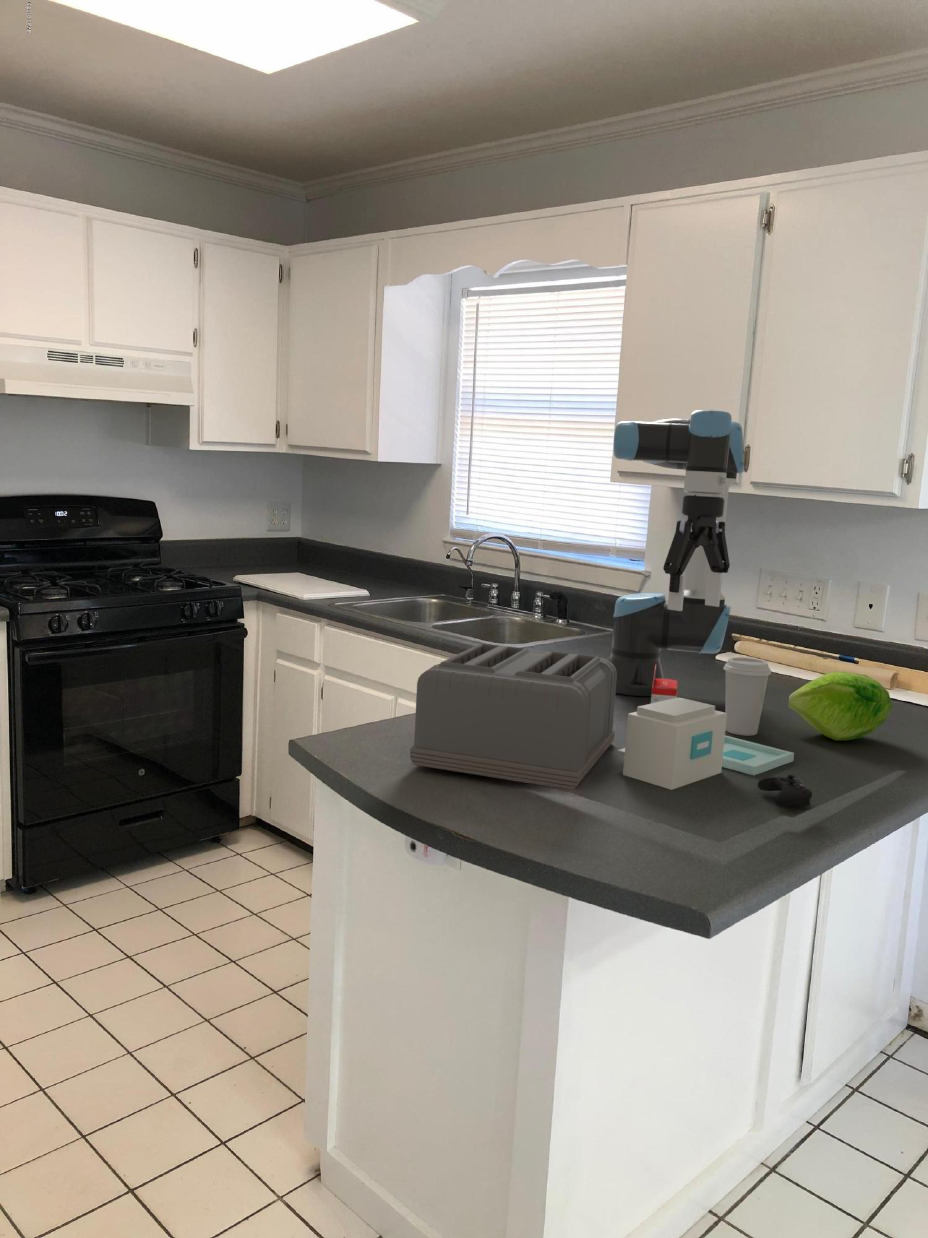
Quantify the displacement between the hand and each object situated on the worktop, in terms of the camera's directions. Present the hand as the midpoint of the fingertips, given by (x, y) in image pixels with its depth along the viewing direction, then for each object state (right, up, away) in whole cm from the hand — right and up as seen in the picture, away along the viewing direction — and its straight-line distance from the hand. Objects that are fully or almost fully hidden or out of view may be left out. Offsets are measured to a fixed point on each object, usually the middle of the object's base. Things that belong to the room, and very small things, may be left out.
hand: (693, 608), depth 192 cm
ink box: (-5, -26, +9) cm, 28 cm away
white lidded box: (-7, -29, -12) cm, 32 cm away
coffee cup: (+14, -26, +20) cm, 36 cm away
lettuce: (+34, -27, +20) cm, 48 cm away
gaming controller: (+7, -33, -25) cm, 42 cm away
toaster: (-33, -27, -3) cm, 43 cm away
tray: (+8, -28, 0) cm, 30 cm away
